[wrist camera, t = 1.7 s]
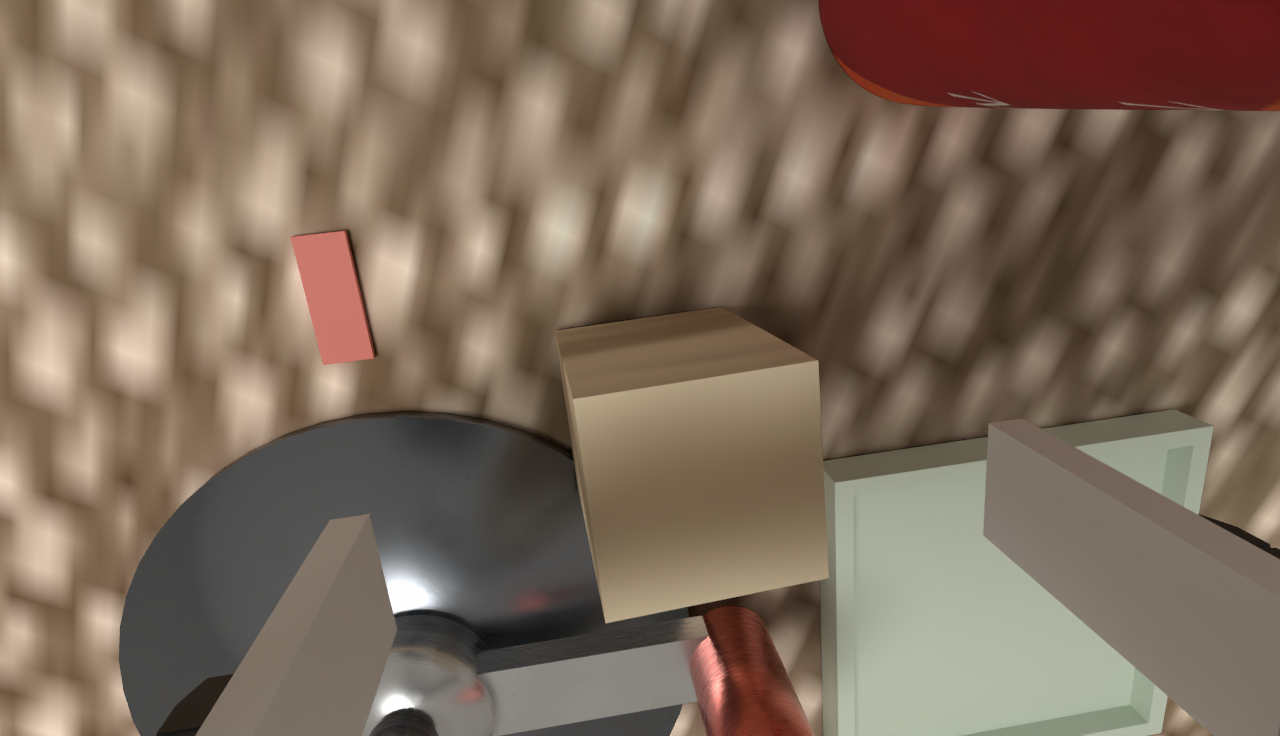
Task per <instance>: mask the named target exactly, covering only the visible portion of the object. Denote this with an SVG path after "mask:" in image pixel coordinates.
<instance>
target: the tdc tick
mask: <svg viewBox="0 0 1280 736" xmlns="http://www.w3.org/2000/svg"><path fill="white" fill-rule="evenodd" d="M291 240H292V244H293V248H294V252H295V256H296V260H297V263H298V267H299V271H300V275H301V279H302V283H303V287H304V291H305V295H306V299H307V303H308V307H309V310H310V314H311V318H312V322H313V326H314V330H315V334H316V338H317V342H318V346H319V350H320V354H321V358H322V361H323V365H326V364H334V363H341V362H349V361H357V360H365V359H373V358H375V352H374V348H373V343H372V339H371V335H370V330H369V326H368V321H367V317H366V313H365V308H364V304H363V300H362V295H361V291H360V287H359V282H358V278H357V274H356V269H355V265H354V260H353V256H352V252H351V247H350V243H349V239H348V234H347V230H344V231H335V232H326V233H317V234H308V235H299V236H292V237H291Z"/></svg>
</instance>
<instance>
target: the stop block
mask: <svg viewBox="0 0 1280 736" xmlns="http://www.w3.org/2000/svg"><path fill="white" fill-rule="evenodd" d="M555 336H556V343H557V350H558V356H559V363H560V370H561V377H562V383H563V390H564V397H565V404H566V410H567V417H568V424H569V431H570V437H571V444H572V451H573V458H574V464H575V471H576V478H577V485H578V491H579V496H580V501H581V505H582V510H583V515H584V520H585V525H586V530H587V535H588V540H589V545H590V550H591V555H592V559H593V564H594V569H595V574H596V579H597V584H598V589H599V594H600V599H601V604H602V608H603V613H604V618H605V623H610V622H615V621H620V620H625V619H630V618H635V617H640V616H645V615H650V614H655V613H660V612H664V611H669V610H674V609H679V608H684V607H689V606H694V605H699V604H704V603H709V602H714V601H719V600H724V599H729V598H734V597H738V596H743V595H748V594H753V593H758V592H763V591H768V590H773V589H778V588H783V587H788V586H793V585H798V584H803V583H807V582H812V581H817V580H822V579H827V578H829V573H828V552H827V531H826V510H825V489H824V468H823V447H822V426H821V405H820V384H819V363H818V360H817V359H815V358H813V357H811V356H809V355H808V354H806V353H804V352H802V351H800V350H799V349H797V348H795V347H793V346H791V345H790V344H788V343H786V342H784V341H782V340H781V339H779V338H777V337H775V336H773V335H772V334H770V333H768V332H766V331H764V330H763V329H761V328H759V327H757V326H755V325H754V324H752V323H750V322H748V321H746V320H745V319H743V318H741V317H739V316H737V315H736V314H734V313H732V312H730V311H728V310H727V309H725V308H723V307H716V308H710V309H703V310H696V311H689V312H682V313H675V314H668V315H661V316H654V317H647V318H640V319H633V320H626V321H619V322H613V323H606V324H599V325H592V326H585V327H578V328H571V329H564V330H557V331H555Z"/></svg>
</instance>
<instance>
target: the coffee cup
mask: <svg viewBox="0 0 1280 736" xmlns="http://www.w3.org/2000/svg"><path fill="white" fill-rule="evenodd" d="M819 11H820V18H821V23H822V27H823V31H824V34H825V37H826V40H827V43H828V45H829V47H830V49H831V51H832V53H833V55H834V57H835V59H836V60H837V62H838V63H839V65H840V66H841V67H842V69H843V70H844V71H845V72H846V73H847V75H848V76H849V77H850V78H851V79H852V80H853V81H855V82H856V83H857V84H858V85H859V86H861V87H862V88H864V89H865V90H867V91H868V92H870V93H872V94H874V95H876V96H878V97H881V98H883V99H886V100H890V101H893V102H897V103H903V104H912V105H920V106H940V107H979V108H1038V109H1123V110H1236V111H1280V0H819Z"/></svg>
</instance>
